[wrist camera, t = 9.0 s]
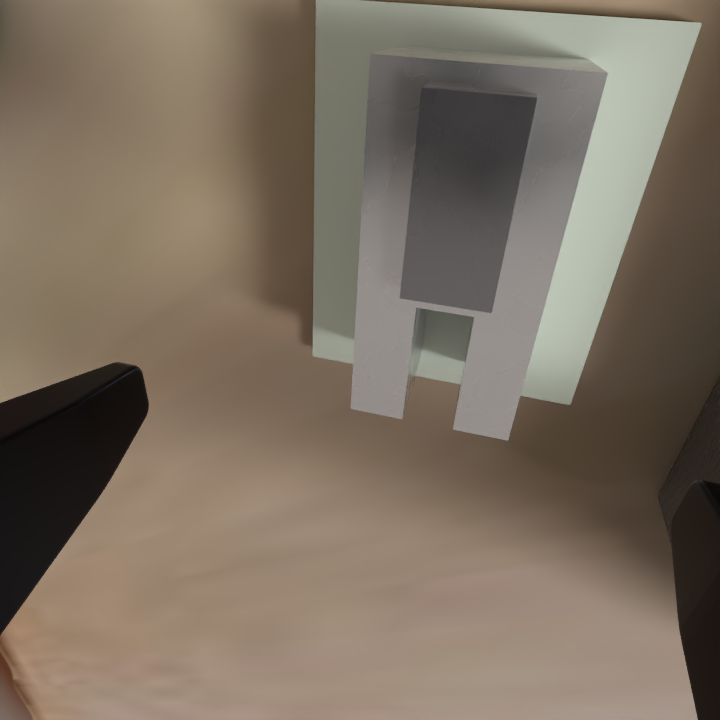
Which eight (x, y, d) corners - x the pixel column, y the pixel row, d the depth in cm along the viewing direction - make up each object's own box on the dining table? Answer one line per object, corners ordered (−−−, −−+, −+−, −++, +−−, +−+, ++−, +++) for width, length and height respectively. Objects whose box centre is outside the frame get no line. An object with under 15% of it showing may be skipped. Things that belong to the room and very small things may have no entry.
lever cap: (510, 370, 20) (507, 453, 16) (377, 346, 21) (345, 420, 17) (588, 59, 14) (611, 75, 11) (403, 45, 15) (363, 55, 11)
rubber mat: (569, 395, 20) (570, 405, 20) (317, 348, 22) (312, 356, 22) (696, 22, 14) (702, 23, 13) (322, -3, 16) (315, -3, 15)
